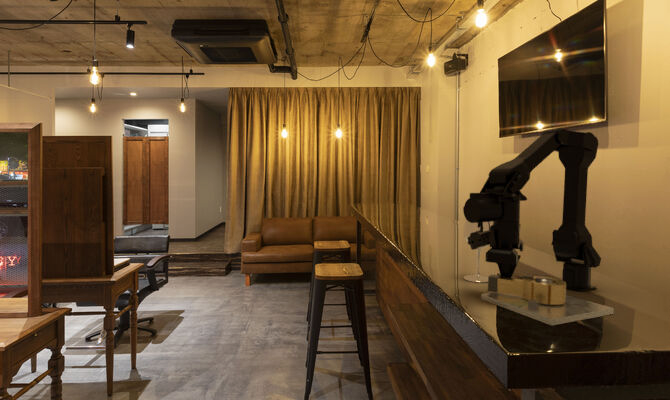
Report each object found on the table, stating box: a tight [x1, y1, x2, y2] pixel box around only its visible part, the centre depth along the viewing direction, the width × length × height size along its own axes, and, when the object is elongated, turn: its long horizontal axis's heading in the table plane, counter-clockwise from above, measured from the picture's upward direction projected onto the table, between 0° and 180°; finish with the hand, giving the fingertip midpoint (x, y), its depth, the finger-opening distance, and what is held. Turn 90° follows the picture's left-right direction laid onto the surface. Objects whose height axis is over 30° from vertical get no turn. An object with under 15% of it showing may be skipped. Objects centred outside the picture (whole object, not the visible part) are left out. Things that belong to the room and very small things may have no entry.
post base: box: [480, 276, 615, 326], centre depth 83 cm, size 18×18×6 cm
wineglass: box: [463, 218, 493, 284], centre depth 106 cm, size 8×8×20 cm
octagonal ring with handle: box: [487, 274, 567, 305], centre depth 85 cm, size 8×15×5 cm, turn 53°
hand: (505, 285), depth 90 cm, fingers closed
